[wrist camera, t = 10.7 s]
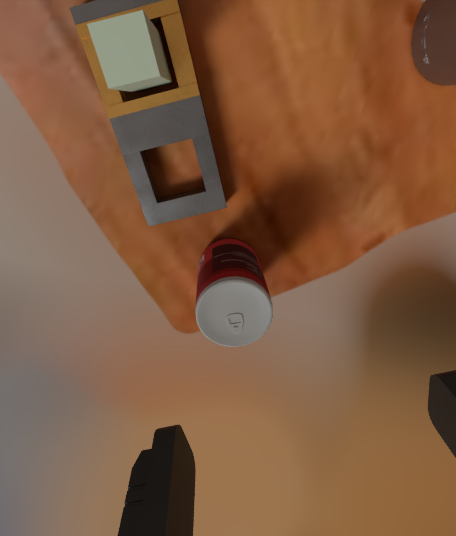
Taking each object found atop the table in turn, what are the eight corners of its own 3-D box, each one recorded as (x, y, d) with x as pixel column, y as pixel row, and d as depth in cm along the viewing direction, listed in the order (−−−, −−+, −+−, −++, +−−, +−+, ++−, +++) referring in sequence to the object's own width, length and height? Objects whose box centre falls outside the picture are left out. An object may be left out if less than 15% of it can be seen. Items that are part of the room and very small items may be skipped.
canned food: (215, 300, 44) (217, 357, 34) (187, 251, 41) (179, 299, 31) (268, 278, 43) (285, 330, 33) (243, 225, 39) (254, 266, 30)
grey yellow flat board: (174, -14, 29) (171, -23, 27) (226, 202, 38) (226, 208, 36) (78, 13, 29) (68, 7, 28) (151, 220, 38) (148, 226, 36)
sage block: (160, 34, 30) (142, 9, 22) (172, 82, 32) (160, 76, 24) (119, 44, 31) (86, 24, 23) (133, 92, 32) (108, 88, 24)
